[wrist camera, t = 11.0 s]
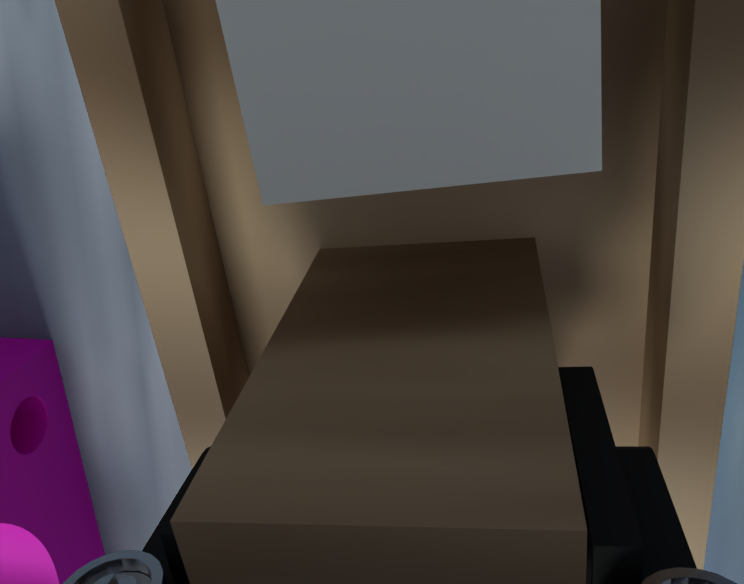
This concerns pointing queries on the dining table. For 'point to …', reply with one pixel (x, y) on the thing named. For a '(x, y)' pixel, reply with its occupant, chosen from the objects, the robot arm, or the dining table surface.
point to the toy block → (40, 472)
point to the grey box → (414, 92)
